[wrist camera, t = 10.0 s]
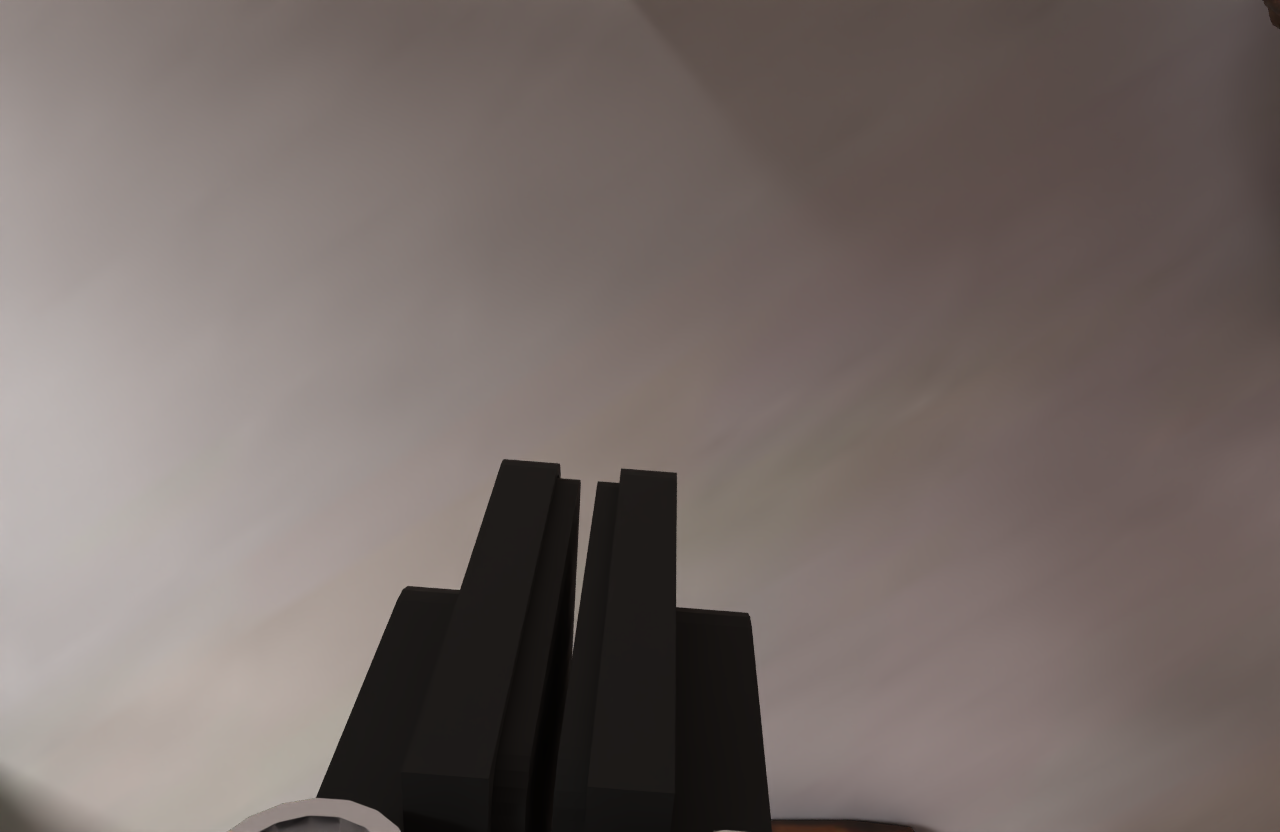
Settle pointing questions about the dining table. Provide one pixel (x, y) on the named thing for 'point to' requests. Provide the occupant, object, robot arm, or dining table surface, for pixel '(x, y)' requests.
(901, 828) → the croissant
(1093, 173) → the dining table surface
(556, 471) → the robot arm
